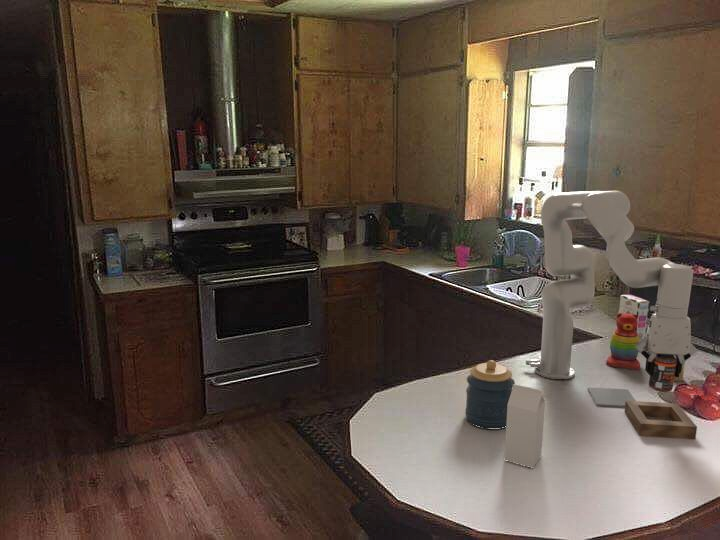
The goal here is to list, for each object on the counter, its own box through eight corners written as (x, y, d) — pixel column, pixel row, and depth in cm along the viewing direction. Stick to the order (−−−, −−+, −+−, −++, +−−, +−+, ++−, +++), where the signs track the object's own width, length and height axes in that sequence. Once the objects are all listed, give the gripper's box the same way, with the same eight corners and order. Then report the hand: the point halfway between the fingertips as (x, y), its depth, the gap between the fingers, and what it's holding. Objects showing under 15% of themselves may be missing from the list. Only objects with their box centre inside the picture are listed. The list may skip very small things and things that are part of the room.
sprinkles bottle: (685, 379, 198) (690, 340, 195) (678, 382, 195) (683, 343, 192) (672, 375, 201) (676, 336, 198) (664, 378, 199) (669, 339, 196)
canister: (469, 406, 179) (471, 349, 175) (514, 413, 175) (518, 355, 171) (461, 426, 167) (463, 366, 163) (509, 434, 163) (513, 372, 159)
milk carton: (532, 469, 146) (538, 395, 142) (504, 461, 150) (508, 389, 145) (541, 456, 152) (546, 385, 148) (513, 448, 155) (517, 379, 151)
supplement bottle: (662, 394, 162) (668, 354, 159) (643, 386, 167) (648, 347, 164) (677, 390, 165) (683, 351, 162) (658, 381, 170) (663, 343, 167)
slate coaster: (596, 405, 179) (596, 404, 179) (587, 389, 191) (587, 387, 191) (639, 408, 178) (639, 406, 177) (627, 391, 189) (627, 389, 189)
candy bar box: (645, 342, 232) (650, 301, 228) (634, 344, 231) (638, 302, 227) (626, 333, 242) (630, 293, 239) (615, 334, 241) (619, 294, 237)
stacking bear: (605, 366, 209) (610, 316, 205) (606, 356, 218) (611, 308, 214) (640, 370, 205) (645, 320, 201) (639, 360, 214) (644, 311, 210)
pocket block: (639, 435, 162) (640, 423, 161) (624, 411, 175) (625, 400, 175) (695, 439, 160) (697, 426, 159) (676, 414, 174) (677, 403, 173)
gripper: (641, 313, 158) (632, 378, 162) (712, 317, 156) (701, 382, 160) (632, 305, 165) (625, 367, 170) (700, 308, 163) (690, 371, 167)
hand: (662, 374), depth 165 cm, fingers closed on supplement bottle, 6 cm apart
